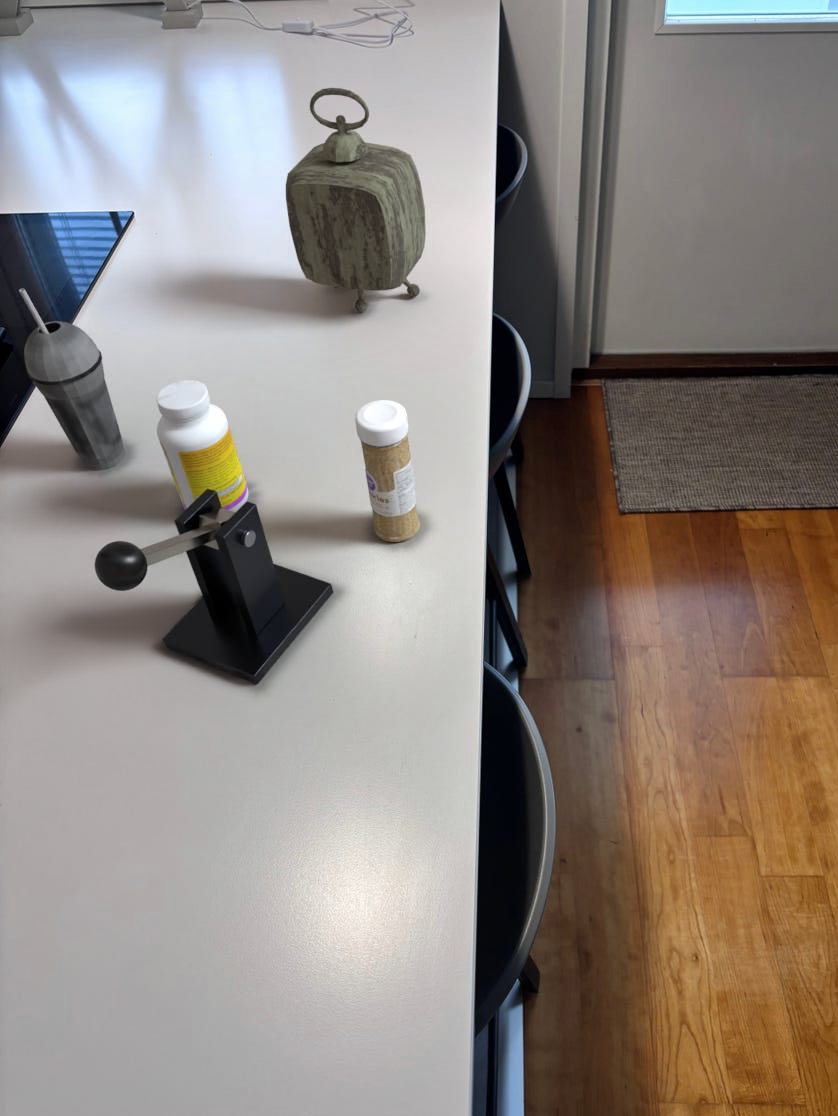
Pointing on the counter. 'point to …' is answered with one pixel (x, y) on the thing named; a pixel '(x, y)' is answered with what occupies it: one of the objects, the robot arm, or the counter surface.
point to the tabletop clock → (356, 210)
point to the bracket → (242, 597)
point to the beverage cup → (74, 389)
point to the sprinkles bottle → (388, 469)
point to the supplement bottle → (199, 445)
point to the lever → (153, 552)
